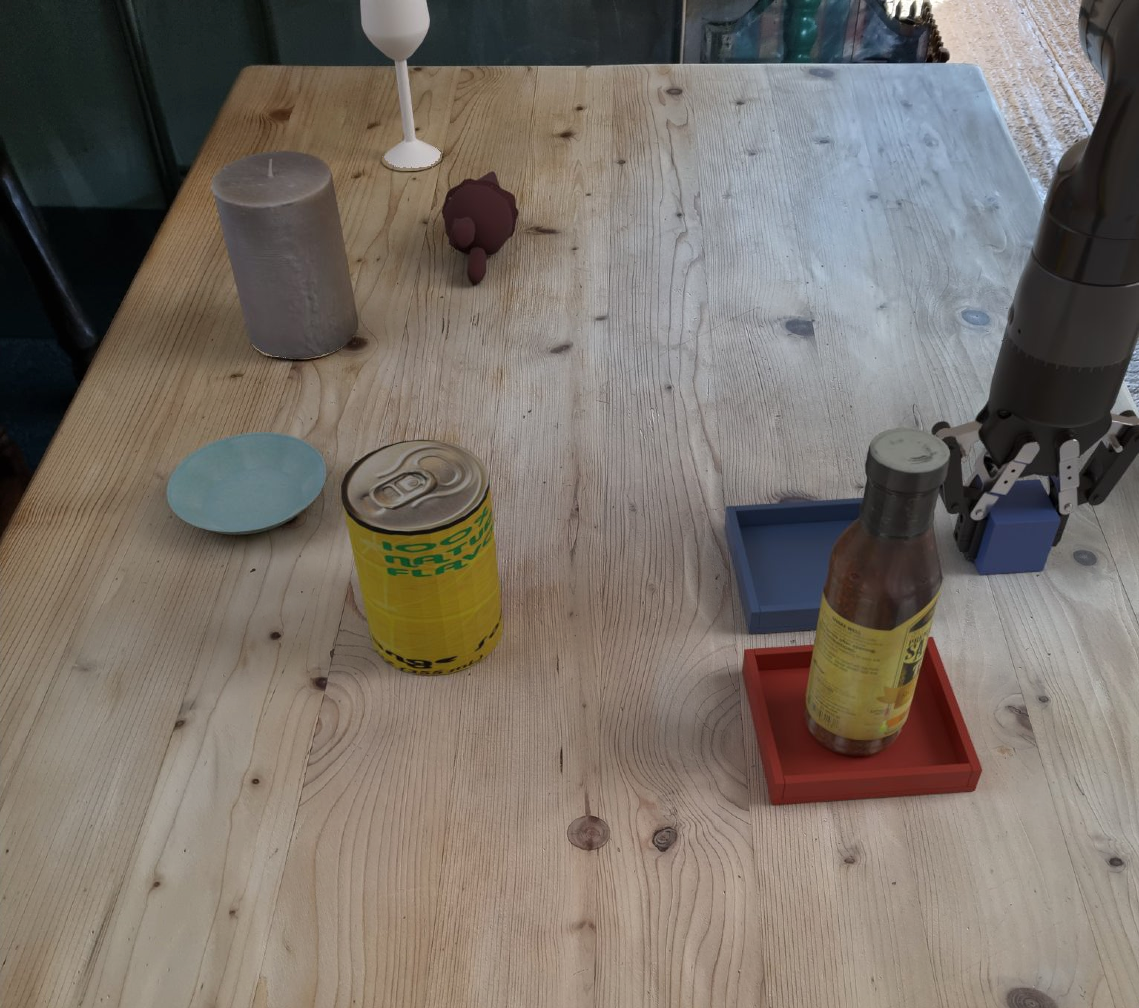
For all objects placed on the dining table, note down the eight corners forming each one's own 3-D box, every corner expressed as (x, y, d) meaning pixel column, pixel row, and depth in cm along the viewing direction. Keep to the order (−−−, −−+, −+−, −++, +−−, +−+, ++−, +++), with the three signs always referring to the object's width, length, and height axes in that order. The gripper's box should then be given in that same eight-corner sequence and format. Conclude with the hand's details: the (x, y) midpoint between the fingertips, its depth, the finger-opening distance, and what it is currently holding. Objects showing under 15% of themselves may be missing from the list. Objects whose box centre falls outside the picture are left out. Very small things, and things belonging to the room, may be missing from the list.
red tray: (926, 658, 79) (933, 636, 78) (975, 791, 72) (982, 769, 71) (741, 670, 79) (744, 648, 78) (771, 805, 72) (774, 784, 70)
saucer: (326, 548, 88) (321, 523, 87) (163, 559, 88) (154, 534, 86) (335, 451, 96) (330, 427, 94) (185, 461, 96) (177, 437, 94)
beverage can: (530, 625, 82) (520, 480, 73) (430, 696, 78) (406, 552, 69) (443, 566, 87) (422, 422, 78) (344, 630, 83) (310, 486, 74)
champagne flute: (451, 146, 131) (425, -120, 113) (433, 174, 127) (402, -98, 109) (392, 142, 132) (357, -123, 114) (372, 169, 128) (332, -101, 110)
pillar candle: (329, 293, 112) (297, 123, 100) (378, 339, 106) (350, 165, 95) (231, 326, 109) (186, 154, 97) (276, 375, 103) (234, 199, 92)
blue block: (1023, 530, 88) (1040, 478, 84) (1043, 571, 85) (1061, 519, 81) (961, 533, 87) (975, 482, 84) (979, 575, 85) (994, 523, 81)
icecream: (444, 146, 117) (412, 235, 108) (516, 129, 114) (490, 218, 106) (469, 213, 122) (441, 303, 113) (539, 198, 120) (515, 288, 111)
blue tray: (889, 517, 89) (894, 495, 87) (929, 622, 82) (935, 600, 80) (724, 528, 89) (726, 505, 87) (748, 634, 81) (751, 612, 80)
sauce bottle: (903, 767, 73) (978, 500, 58) (798, 755, 74) (845, 488, 59) (903, 689, 77) (974, 420, 62) (804, 678, 78) (850, 410, 63)
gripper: (971, 370, 70) (915, 592, 83) (1215, 355, 71) (1121, 578, 84) (937, 302, 75) (889, 522, 88) (1166, 289, 75) (1084, 510, 88)
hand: (1003, 548), depth 86 cm, fingers closed on blue block, 4 cm apart
